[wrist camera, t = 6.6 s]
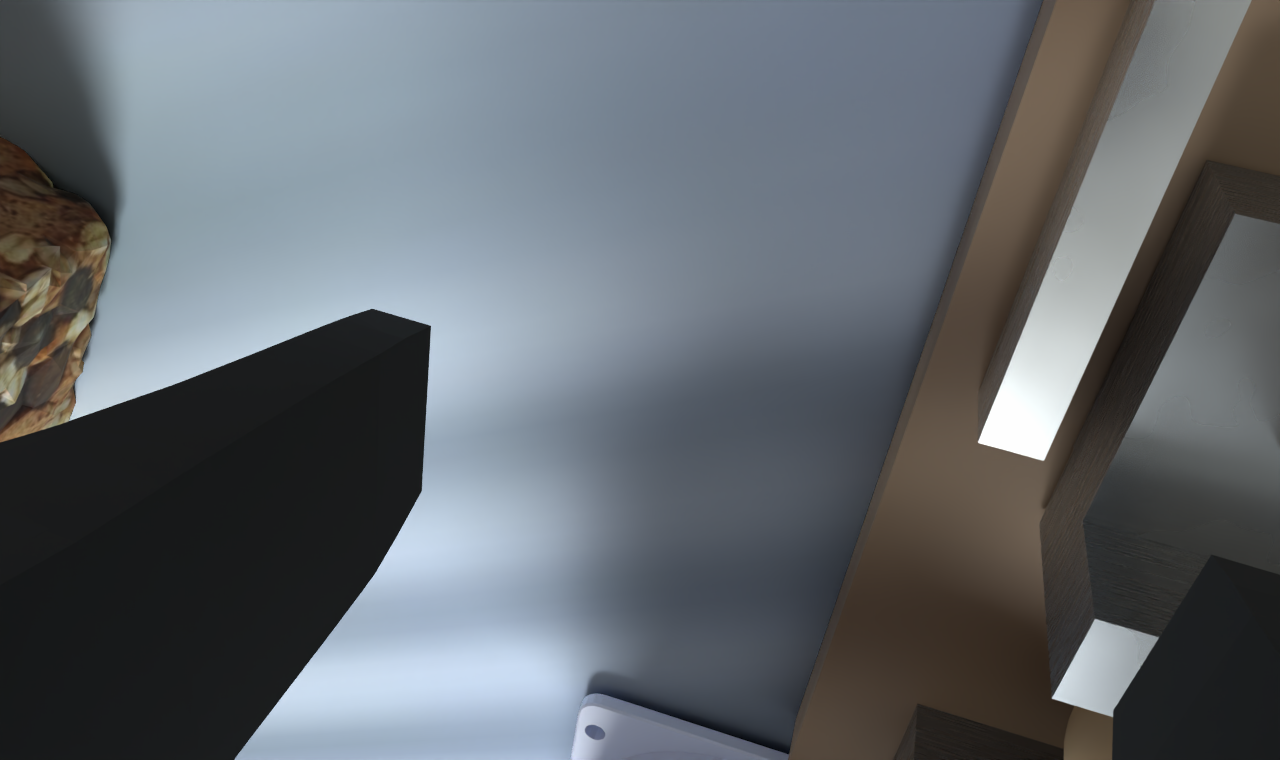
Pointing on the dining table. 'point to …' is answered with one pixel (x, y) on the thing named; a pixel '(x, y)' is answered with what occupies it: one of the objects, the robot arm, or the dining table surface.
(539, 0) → the dining table surface
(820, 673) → the press base
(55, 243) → the bread
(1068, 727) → the tan ball
